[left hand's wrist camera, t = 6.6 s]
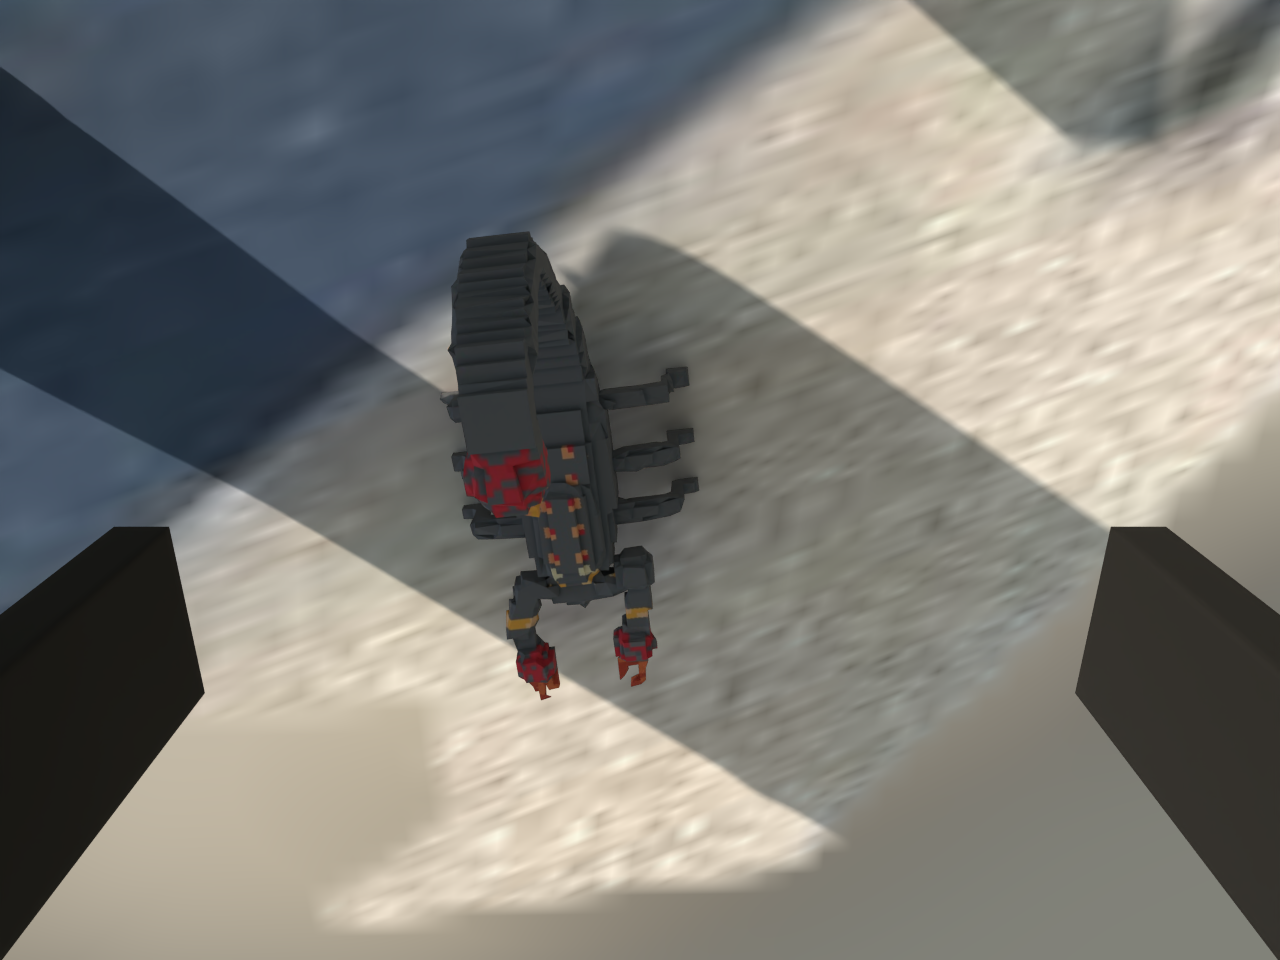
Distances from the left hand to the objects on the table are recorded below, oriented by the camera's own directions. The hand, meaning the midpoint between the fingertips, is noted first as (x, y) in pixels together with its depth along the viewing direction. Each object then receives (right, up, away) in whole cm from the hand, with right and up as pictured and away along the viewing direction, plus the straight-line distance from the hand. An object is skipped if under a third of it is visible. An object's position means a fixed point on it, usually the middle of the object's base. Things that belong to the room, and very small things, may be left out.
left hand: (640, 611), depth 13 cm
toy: (-4, +3, +38) cm, 38 cm away
